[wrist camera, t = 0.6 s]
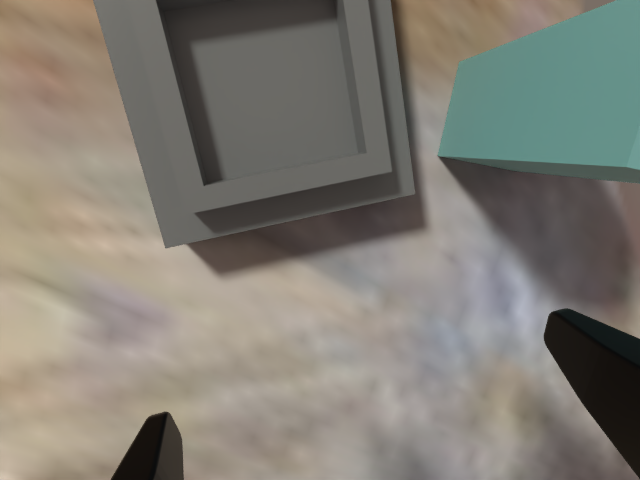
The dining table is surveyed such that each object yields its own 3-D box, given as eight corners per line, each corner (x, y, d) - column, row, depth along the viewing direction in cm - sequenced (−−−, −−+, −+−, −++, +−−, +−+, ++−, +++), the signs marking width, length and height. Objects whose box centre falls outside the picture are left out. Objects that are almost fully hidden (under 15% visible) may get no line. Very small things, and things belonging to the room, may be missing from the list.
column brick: (516, 171, 24) (761, 195, 13) (437, 155, 23) (626, 167, 12) (540, 81, 23) (829, 19, 12) (459, 61, 22) (688, -29, 11)
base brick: (394, 188, 23) (428, 197, 19) (176, 234, 22) (158, 256, 17) (360, -56, 20) (390, -111, 16) (104, -21, 19) (61, -70, 14)
